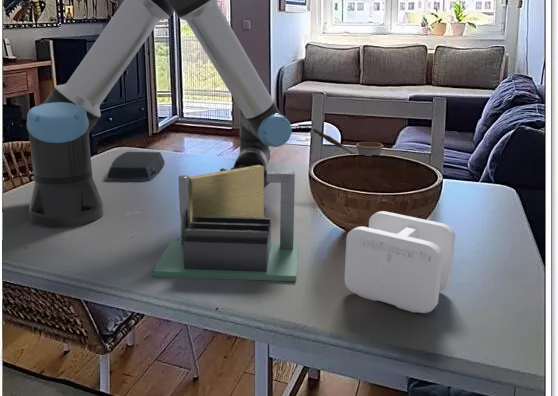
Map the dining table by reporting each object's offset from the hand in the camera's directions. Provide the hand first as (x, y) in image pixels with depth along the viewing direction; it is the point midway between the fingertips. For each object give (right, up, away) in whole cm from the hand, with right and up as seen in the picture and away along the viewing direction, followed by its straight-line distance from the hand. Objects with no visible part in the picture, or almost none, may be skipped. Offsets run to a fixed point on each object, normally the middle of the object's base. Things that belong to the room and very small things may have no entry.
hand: (239, 196), depth 122 cm
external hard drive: (-31, +7, +43) cm, 53 cm away
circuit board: (-1, -12, -15) cm, 19 cm away
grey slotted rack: (0, -12, -15) cm, 19 cm away
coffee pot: (+25, +1, +25) cm, 35 cm away
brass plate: (-2, -7, -5) cm, 9 cm away
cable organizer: (+27, -16, -26) cm, 41 cm away
